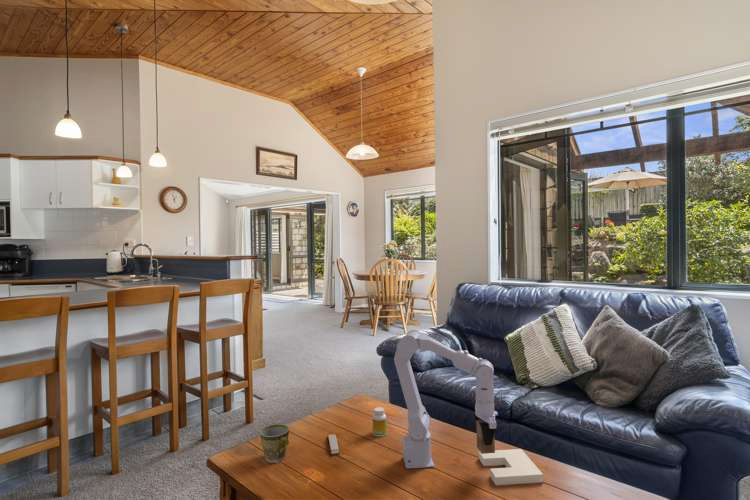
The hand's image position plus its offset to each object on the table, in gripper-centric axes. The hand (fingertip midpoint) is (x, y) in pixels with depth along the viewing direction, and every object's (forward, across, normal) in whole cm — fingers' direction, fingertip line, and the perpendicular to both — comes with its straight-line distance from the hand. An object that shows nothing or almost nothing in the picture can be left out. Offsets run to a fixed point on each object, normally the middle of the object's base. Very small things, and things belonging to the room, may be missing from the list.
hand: (485, 440), depth 133 cm
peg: (+3, 0, 0) cm, 3 cm away
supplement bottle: (+10, +30, +32) cm, 45 cm away
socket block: (+10, 0, -8) cm, 13 cm away
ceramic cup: (+10, +15, +69) cm, 71 cm away
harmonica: (+10, +23, +50) cm, 56 cm away
